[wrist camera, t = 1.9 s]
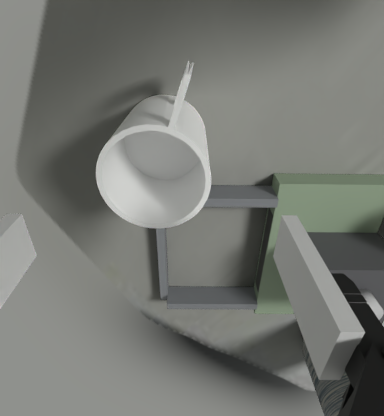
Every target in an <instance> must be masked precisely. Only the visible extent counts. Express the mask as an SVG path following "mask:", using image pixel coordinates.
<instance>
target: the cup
mask: <svg viewBox="0 0 384 416" xmlns="http://www.w3.org/2000/svg"><path fill="white" fill-rule="evenodd" d="M193 65H194V62H192V63H190V64H189V60H188V62H187V64H186V67H185V70H184V74H183V77H182V80H181V83H180V86H179V90H178V93H177V96H172V95H155V96H151V97H148V98H146V99H144V100H142V101H141V102H139V103H138V104H137V105H136V106H135V107H134V108H133V109H132V111H131V112H130V113H129V114H128V116H127V117H126V118H125V120H124V121H123V122H122V123H121V125H120V126H119V127H118V129H117V130H116V131H115V133H114V134H113V135H112V136H111V138H110V139H109V140H108V142H107V143H106V144H105V146H104V147H103V149H102V151H101V152H100V154H99V157H98V161H97V164H96V180H97V186H98V188H99V191H100V194H101V196H102V197H103V199H104V201H105V202H106V204H107V205H108V206H109V207H110V208H111V209H112V210H113V211H114V212H115V213H116V214H117V215H119V216H120V217H121V218H123V219H125V220H127V221H128V222H130V223H133V224H136V225H138V226H142V227H147V228H159V229H161V228H169V227H173V226H177V225H180V224H182V223H184V222H186V221H188V220H189V219H191V218H192V217H193V216H195V215H196V214H197V213H198V212H199V211H200V210H201V209H202V207H203V206H204V204H205V202H206V201H207V199H208V196H209V193H210V190H211V172H210V164H209V156H208V148H207V140H206V132H205V126H204V123H203V120H202V118H201V117H200V115H199V113H198V112H197V111H196V109H195V108H194V107H193V106H192V105H190V104H189V103H188V102H187V101H185V100H184V97H185V94H186V91H187V88H188V85H189V81H190V78H191V74H192V69H193Z"/></svg>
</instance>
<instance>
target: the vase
mask: <svg viewBox="0 0 384 416" xmlns="http://www.w3.org/2000/svg"><path fill="white" fill-rule="evenodd" d="M302 351H303V356H304V359H305V361H306V364H307V367H308V370H309V373H310V376H311V379H312V382H313V384H314V387H315V390H316V393H317V396H318V398H319V402H320V405H321V407H322V410H323V413H324V416H338V413H339V411H340V408H341V405H342V402H343V398H342V396H343V394H344V392H345V391H346V389H347V387H348V385H349V384H350V381H349V378H348V376H347V374H346V372H344V374H343V375H342V377H341V379H340V380H319V379H318V376H317V373H316V371H315V368H314V365H313V363H312V360H311V357H310V355H309V352H308V349H307V347H306V344H305V341H304V340H303V345H302Z"/></svg>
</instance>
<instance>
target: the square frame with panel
mask: <svg viewBox="0 0 384 416" xmlns="http://www.w3.org/2000/svg"><path fill="white" fill-rule="evenodd" d="M203 207H265V208H268V209H267V215H266V221H265V226H264V232H263V237H262V243H261V249H260V254H259V260H258V265H257V271H256V277H255V282H254V287H168V266H167V243H166V228H161V229H159V228H156V237H157V252H158V268H159V283H160V298H161V300H167V309H254V313H255V314H294V312H293V309H292V306H291V303H290V301H289V298H288V295H287V293H286V290H285V287H284V285H283V282H282V279H281V277H280V274H279V271H278V268H277V266H276V263H275V260H274V258H273V255H274V250H275V245H276V240H277V236H278V231H279V226H280V221H281V217H282V215H297V217H298V218H299V220H300V222H301V223H302V225H303V227H304V229H305V230H306V232H307V234H308V235H309V237H310V239H311V240H312V242H313V244H314V246H315V247H316V249H317V251H318V252H319V254H320V256H321V258H322V259H323V261H324V263H325V264H326V266H327V268H328V270H329V271H330V273H343V274H345V275H346V276H347V277H348V278H349V279H351V280H352V281H353V282H354V283H355V285H356V286H357V288H358V289H359V291H360V292H361V295H363V297H364V298H365V300H366V301H367V304H369V306H370V307H371V309H372V310H373V312H374V313H375V315H376V316H377V318H378V319H379V321H380V323H381V324H382V323H383V321H384V240H383V239H382V238H381V237H380V235H379V234H378V233H377V232H378V229H379V227H380V225H381V222H382V220H383V218H384V175H367V174H274V176H273V182H272V186H235V185H211V190H210V193H209V196H208V199H207V201H206V202H205V204H204V206H203Z"/></svg>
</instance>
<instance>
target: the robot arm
mask: <svg viewBox="0 0 384 416" xmlns="http://www.w3.org/2000/svg"><path fill="white" fill-rule="evenodd" d="M36 256H37V255H36V252H35V249H34V246H33V243H32V241H31V238H30V235H29V232H28V230H27V227H26V224H25V221H24V218H23V216H22V214H6V215H5V216H4V217H3V218H2V219H1V220H0V309H1V307H2V306H3V304H4V303H5V301H6V300H7V298H8V297H9V296H10V294H11V293H12V291H13V290H14V288H15V287H16V285H17V284H18V282H19V281H20V280H21V278H22V277H23V275H24V274H25V272H26V271H27V269H28V268H29V267H30V265H31V264H32V262H33V261H34V259H35V257H36ZM273 258H274V260H275V263H276V266H277V268H278V271H279V274H280V277H281V279H282V282H283V285H284V287H285V290H286V293H287V295H288V298H289V301H290V303H291V306H292V309H293V312H294V314H295V317H296V320H297V322H298V325H299V328H300V330H301V333H302V336H303V338H304V341H305V344H306V347H307V349H308V352H309V355H310V357H311V360H312V363H313V365H314V368H315V371H316V373H317V376H318V379H319V380H340V379H341V377H342V375H343V374H344V372H346V374H347V376H348V378H349V381H350V384H349V385H348V387H347V389H346V391H345V392H344V394H343V396H342V398H343V402H342V405H341V408H340V411H339V413H338V416H384V327H383V326H382V324H381V323H380V321H379V319H378V318H377V316H376V315H375V313H374V312H373V310H372V309H371V307H370V306H369V304H367V301H366V300H365V298H364V297H363V295H361V292H360V291H359V289H358V288H357V286H356V285H355V283H354V282H353V281H352V280H351V279H349V278H348V277H347V276H346V275H345V274H343V273H330V271H329V270H328V268H327V266H326V264H325V263H324V261H323V259H322V258H321V256H320V254H319V252H318V251H317V249H316V247H315V246H314V244H313V242H312V240H311V239H310V237H309V235H308V234H307V232H306V230H305V229H304V227H303V225H302V223H301V222H300V220H299V218H298V217H297V215H282V217H281V221H280V226H279V231H278V236H277V240H276V245H275V250H274V255H273Z"/></svg>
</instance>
